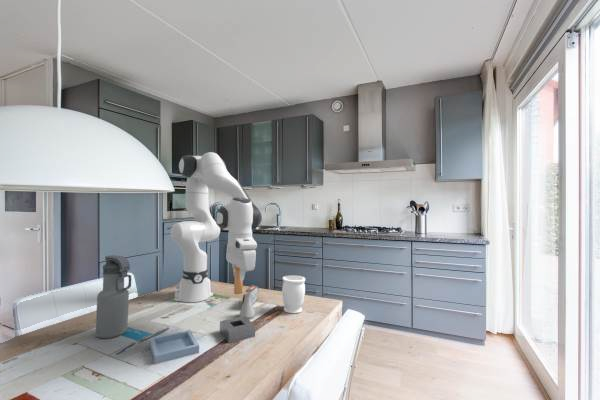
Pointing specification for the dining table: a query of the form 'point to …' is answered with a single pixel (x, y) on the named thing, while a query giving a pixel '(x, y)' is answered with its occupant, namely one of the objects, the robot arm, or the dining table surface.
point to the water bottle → (113, 298)
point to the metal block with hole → (237, 329)
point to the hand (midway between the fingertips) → (238, 277)
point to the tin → (252, 293)
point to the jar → (293, 293)
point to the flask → (247, 307)
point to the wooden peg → (237, 281)
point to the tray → (173, 346)
